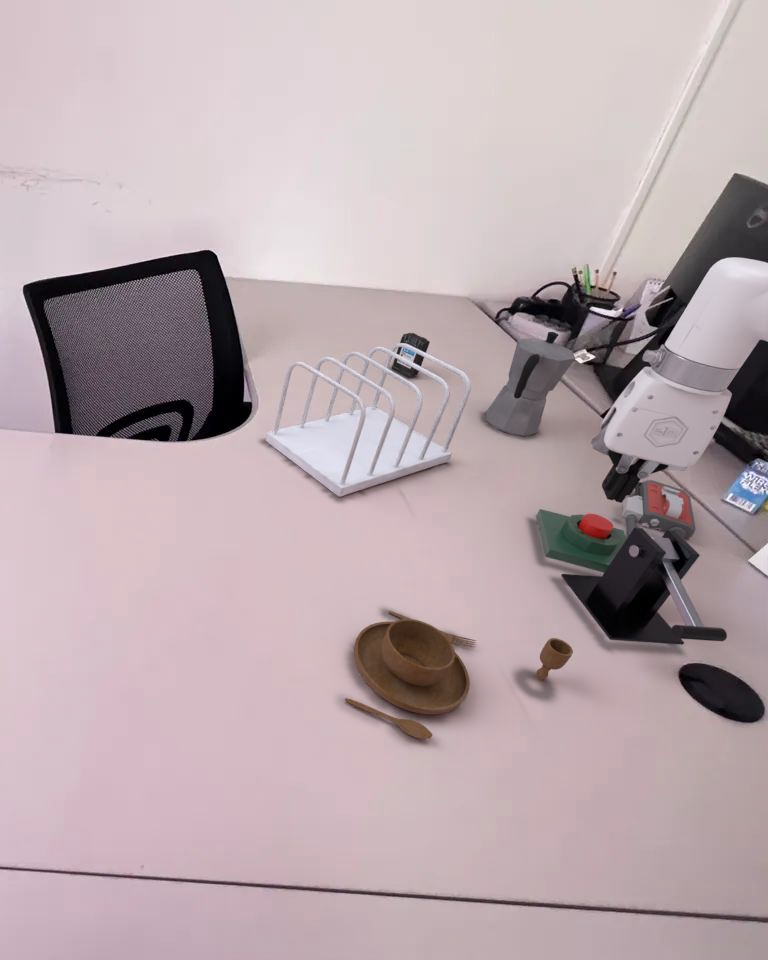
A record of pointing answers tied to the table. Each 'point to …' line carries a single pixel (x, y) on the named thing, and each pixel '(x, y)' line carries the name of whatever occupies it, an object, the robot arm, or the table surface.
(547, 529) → the control box
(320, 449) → the file sorter
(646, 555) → the bracket
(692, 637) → the lever
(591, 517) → the button
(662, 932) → the table surface
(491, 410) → the coffeepot
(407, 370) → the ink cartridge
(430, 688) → the place setting
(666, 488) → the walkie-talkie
